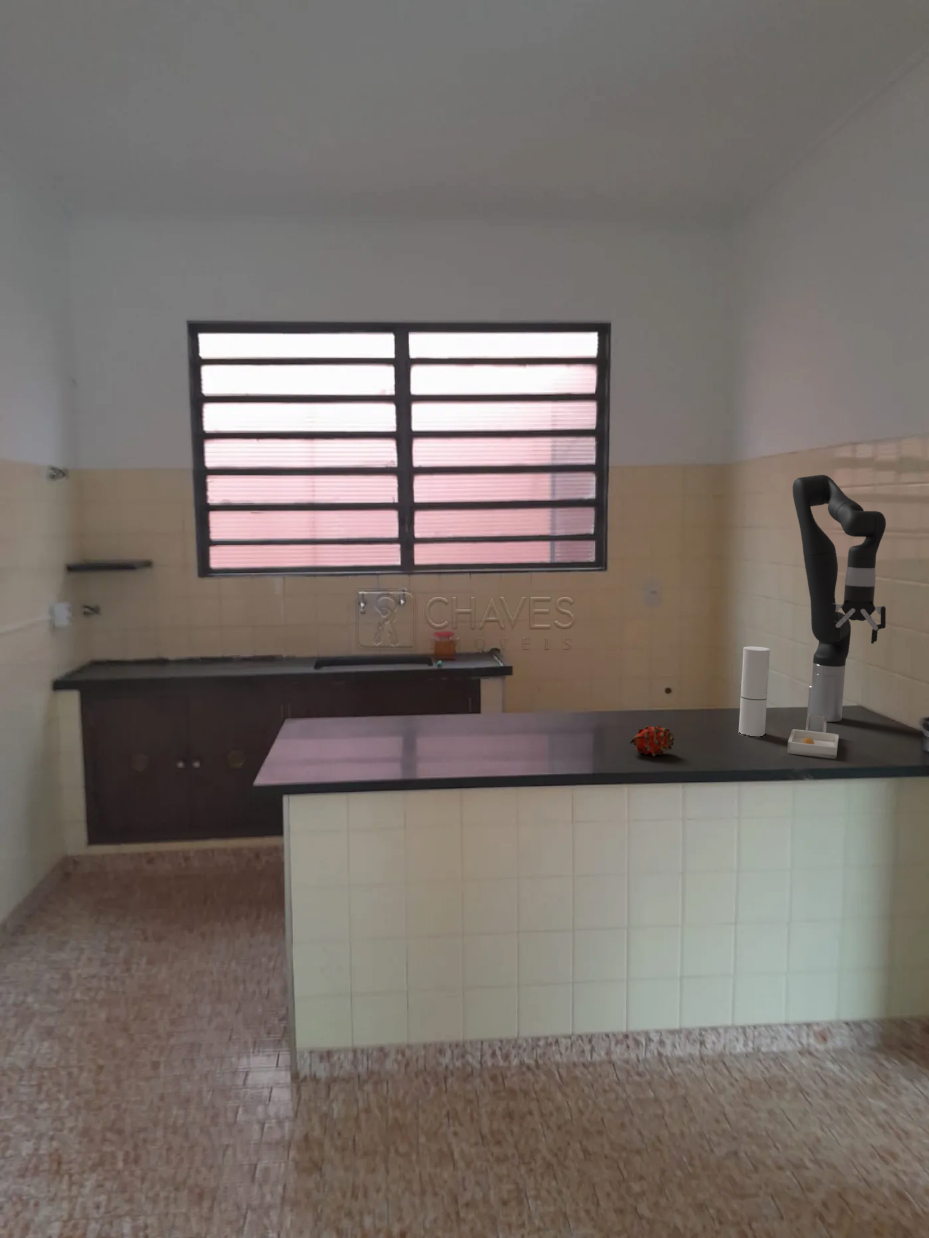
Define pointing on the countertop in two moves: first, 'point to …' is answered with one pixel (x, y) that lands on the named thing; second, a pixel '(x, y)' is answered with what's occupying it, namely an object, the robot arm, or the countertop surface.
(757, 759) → the countertop surface
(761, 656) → the cylindrical container
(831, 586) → the robot arm
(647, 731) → the dragon fruit
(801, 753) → the tray
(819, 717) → the scoop
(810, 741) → the ball
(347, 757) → the countertop surface
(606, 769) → the countertop surface
